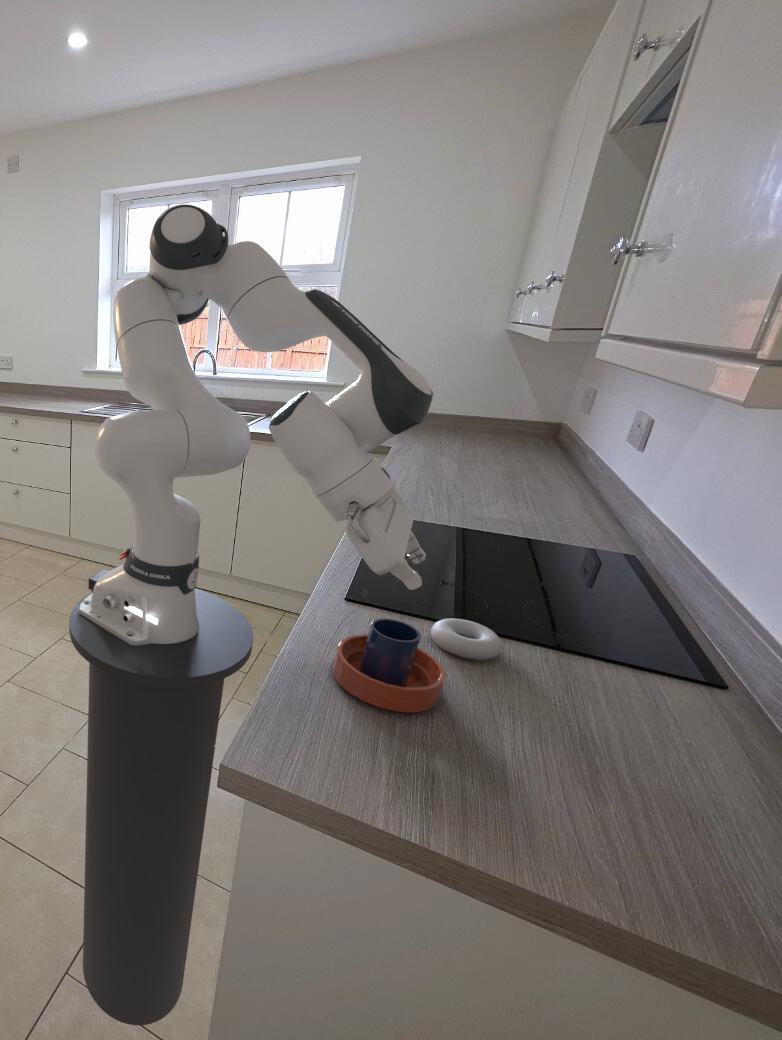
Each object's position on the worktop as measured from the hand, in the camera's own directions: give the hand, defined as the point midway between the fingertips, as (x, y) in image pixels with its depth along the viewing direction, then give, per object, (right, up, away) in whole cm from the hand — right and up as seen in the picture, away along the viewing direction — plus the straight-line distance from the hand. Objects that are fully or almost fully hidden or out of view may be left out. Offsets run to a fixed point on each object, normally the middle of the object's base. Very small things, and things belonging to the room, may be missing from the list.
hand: (419, 572), depth 78 cm
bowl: (-1, -18, +8) cm, 19 cm away
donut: (+18, -14, +18) cm, 29 cm away
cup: (-1, -17, +8) cm, 19 cm away
